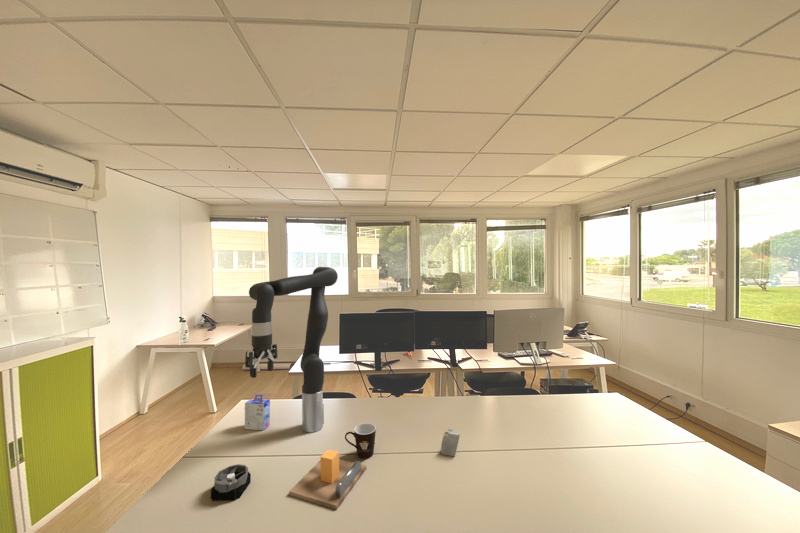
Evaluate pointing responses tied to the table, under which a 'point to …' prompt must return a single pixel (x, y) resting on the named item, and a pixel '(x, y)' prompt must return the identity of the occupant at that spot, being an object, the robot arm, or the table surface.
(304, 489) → the plate
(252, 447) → the table surface
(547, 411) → the table surface
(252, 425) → the ink cartridge box
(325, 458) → the orange rectangular prism
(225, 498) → the cpu cooler
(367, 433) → the coffee mug
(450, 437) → the mineral specimen
